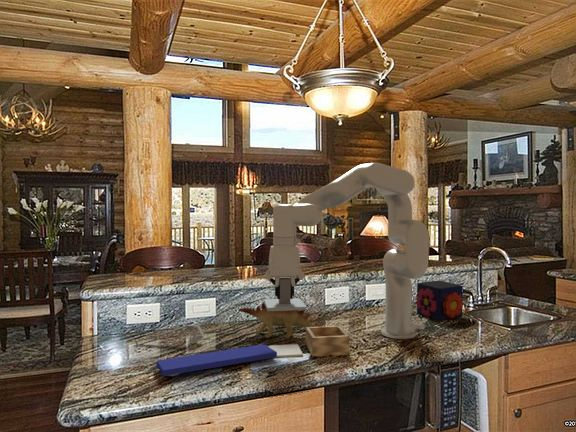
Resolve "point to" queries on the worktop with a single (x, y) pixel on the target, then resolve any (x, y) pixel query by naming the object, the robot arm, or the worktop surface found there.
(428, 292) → the decorative cube
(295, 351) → the mat
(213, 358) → the long blue plank
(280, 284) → the lid
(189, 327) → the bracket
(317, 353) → the pine box
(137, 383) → the worktop surface
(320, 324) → the toy
